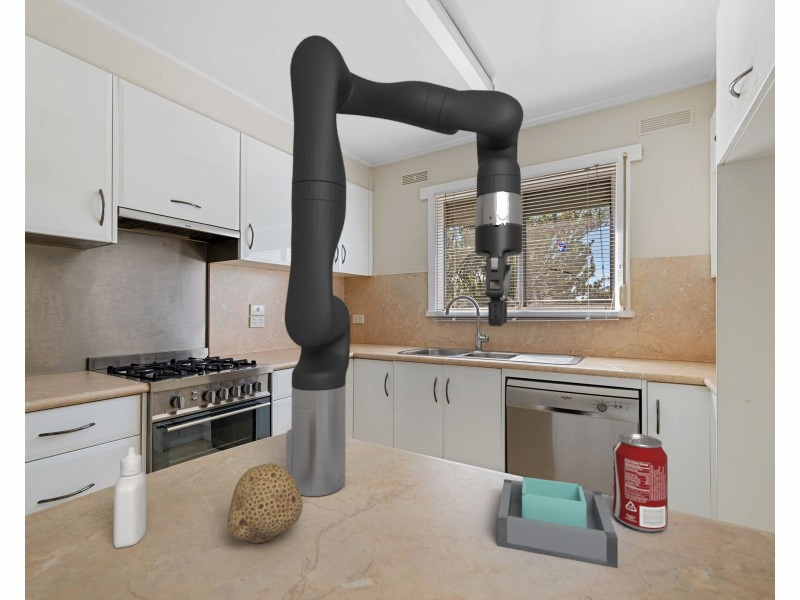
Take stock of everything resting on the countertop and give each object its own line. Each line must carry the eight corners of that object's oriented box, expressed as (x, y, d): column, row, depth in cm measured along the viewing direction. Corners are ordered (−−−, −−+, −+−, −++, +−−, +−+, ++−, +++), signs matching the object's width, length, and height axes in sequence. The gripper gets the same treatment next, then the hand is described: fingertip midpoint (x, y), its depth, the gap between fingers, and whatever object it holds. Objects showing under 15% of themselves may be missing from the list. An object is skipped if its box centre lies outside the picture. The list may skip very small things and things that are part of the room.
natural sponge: (313, 528, 57) (314, 456, 57) (279, 568, 48) (280, 483, 48) (256, 519, 59) (257, 450, 59) (214, 556, 50) (215, 475, 51)
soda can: (676, 538, 55) (676, 449, 55) (621, 532, 56) (621, 445, 56) (655, 513, 61) (655, 433, 61) (607, 508, 63) (607, 430, 63)
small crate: (521, 531, 55) (521, 494, 55) (523, 510, 61) (523, 476, 61) (586, 542, 53) (586, 503, 53) (581, 519, 58) (581, 484, 58)
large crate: (497, 545, 53) (497, 518, 53) (504, 501, 65) (504, 479, 65) (617, 567, 48) (617, 538, 49) (601, 515, 60) (601, 492, 60)
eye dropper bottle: (97, 547, 52) (98, 454, 52) (132, 524, 58) (133, 439, 58) (127, 551, 51) (128, 456, 52) (160, 527, 57) (161, 441, 57)
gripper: (480, 233, 74) (480, 322, 74) (468, 218, 61) (468, 326, 60) (523, 231, 72) (523, 323, 72) (521, 214, 58) (521, 327, 58)
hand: (498, 324), depth 66 cm, fingers open, 8 cm apart
